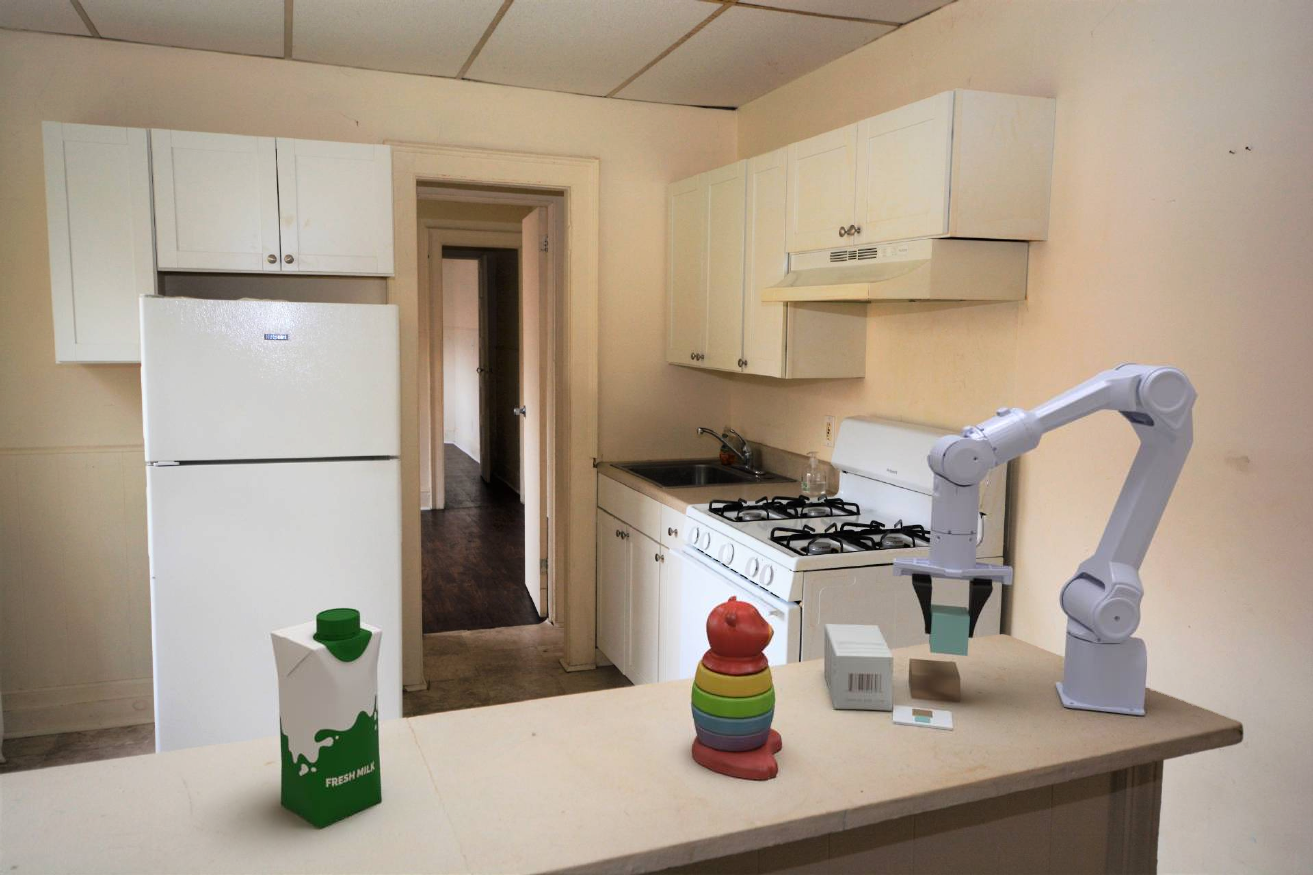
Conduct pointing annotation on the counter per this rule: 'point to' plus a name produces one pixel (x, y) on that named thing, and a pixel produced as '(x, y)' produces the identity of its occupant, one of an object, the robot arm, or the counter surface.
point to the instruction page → (922, 717)
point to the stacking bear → (735, 695)
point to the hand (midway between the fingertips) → (948, 633)
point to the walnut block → (934, 680)
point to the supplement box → (858, 667)
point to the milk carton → (329, 716)
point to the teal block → (949, 630)
